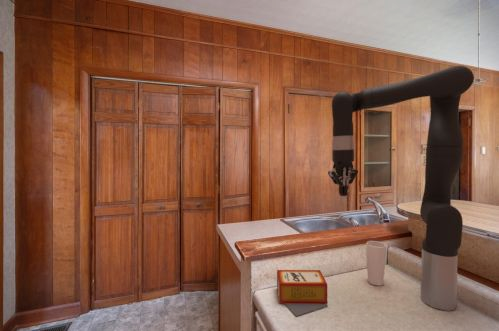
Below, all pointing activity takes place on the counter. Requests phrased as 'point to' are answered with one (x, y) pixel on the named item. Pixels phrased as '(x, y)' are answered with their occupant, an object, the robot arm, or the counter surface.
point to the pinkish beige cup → (375, 262)
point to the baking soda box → (301, 286)
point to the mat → (304, 308)
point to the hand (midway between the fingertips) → (343, 195)
